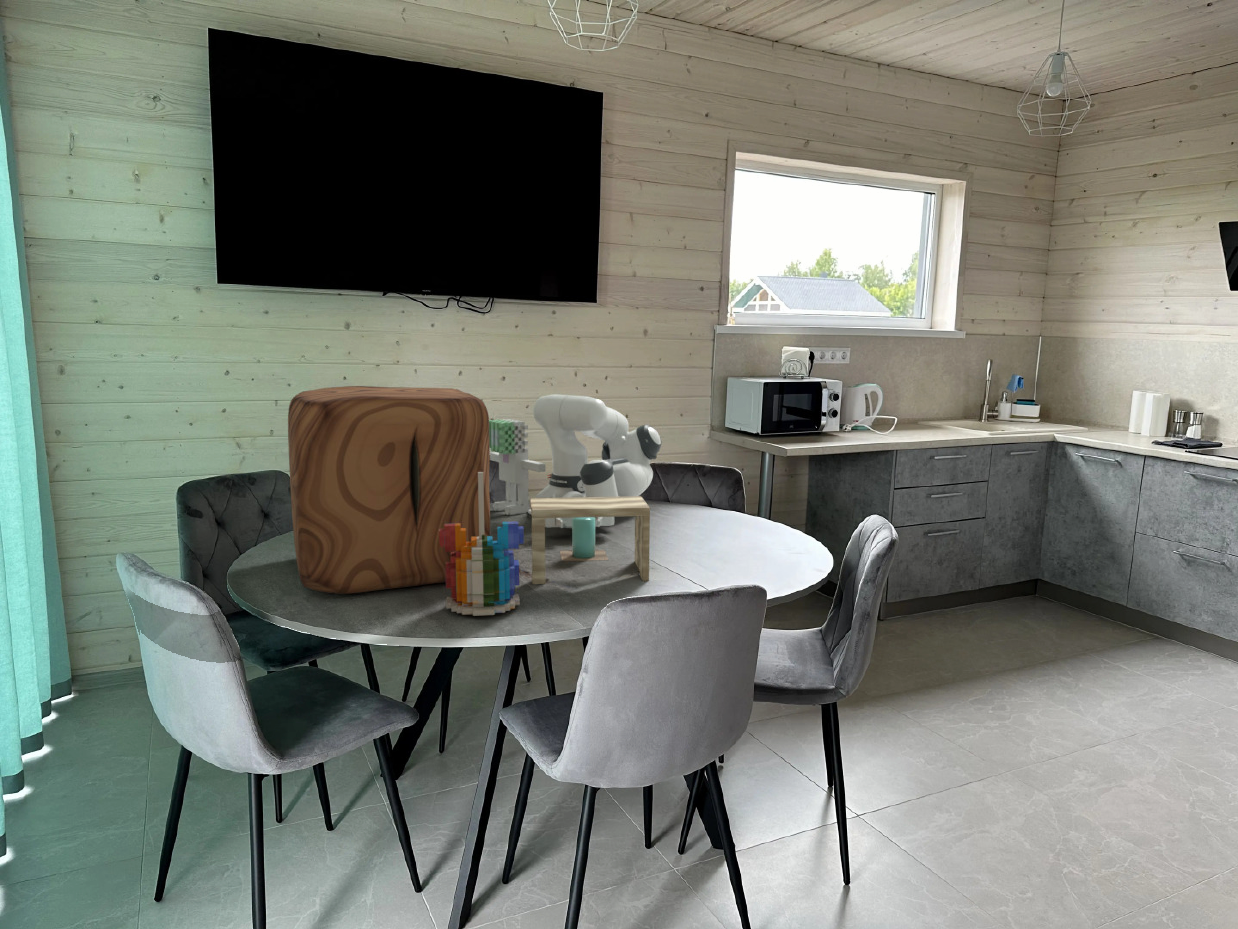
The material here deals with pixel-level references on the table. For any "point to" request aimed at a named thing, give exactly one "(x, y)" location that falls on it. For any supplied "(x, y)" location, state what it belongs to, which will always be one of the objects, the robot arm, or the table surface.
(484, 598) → the toy
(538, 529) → the wooden step stool
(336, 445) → the brown wooden cube stool
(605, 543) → the table surface
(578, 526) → the mint green cylinder
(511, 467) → the toy
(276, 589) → the table surface
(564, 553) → the tray
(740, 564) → the table surface
